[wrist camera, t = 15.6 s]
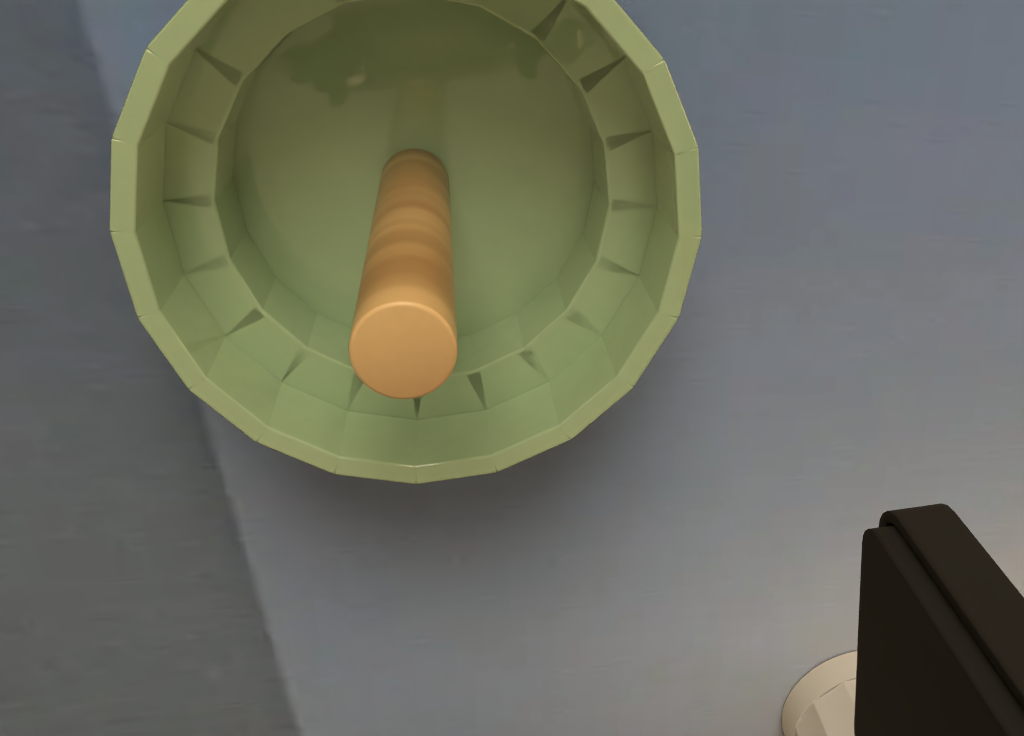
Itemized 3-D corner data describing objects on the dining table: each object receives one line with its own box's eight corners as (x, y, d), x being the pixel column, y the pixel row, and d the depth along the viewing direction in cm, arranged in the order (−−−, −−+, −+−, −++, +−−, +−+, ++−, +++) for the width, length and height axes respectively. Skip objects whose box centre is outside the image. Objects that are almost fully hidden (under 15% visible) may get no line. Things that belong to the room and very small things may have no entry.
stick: (375, 152, 28) (337, 310, 17) (443, 143, 28) (448, 294, 17) (387, 219, 29) (359, 408, 18) (454, 209, 29) (465, 393, 18)
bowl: (183, -142, 25) (115, -153, 20) (706, -33, 27) (773, -16, 22) (162, 352, 31) (105, 447, 26) (594, 411, 33) (624, 510, 28)
